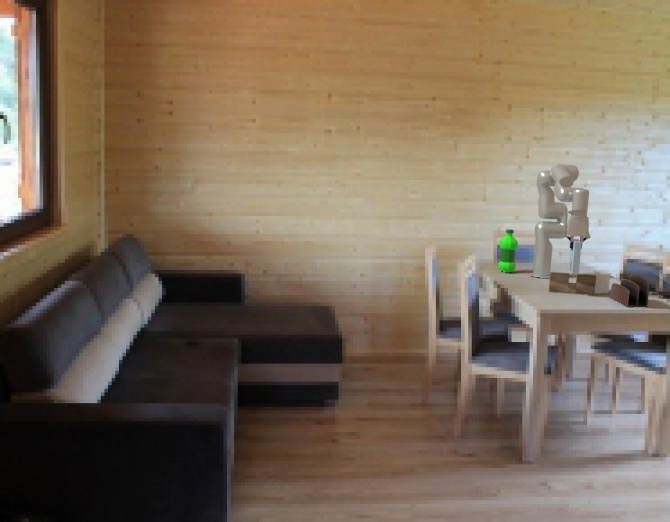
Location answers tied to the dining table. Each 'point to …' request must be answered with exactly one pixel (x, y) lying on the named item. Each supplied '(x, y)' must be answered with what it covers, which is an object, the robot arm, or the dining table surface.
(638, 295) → the letter holder
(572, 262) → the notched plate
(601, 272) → the cup
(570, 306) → the dining table surface
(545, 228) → the robot arm
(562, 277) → the slotted board
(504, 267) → the plastic bottle
